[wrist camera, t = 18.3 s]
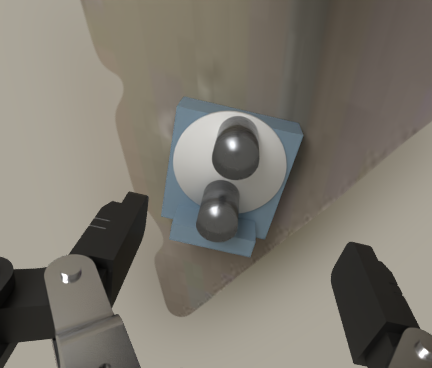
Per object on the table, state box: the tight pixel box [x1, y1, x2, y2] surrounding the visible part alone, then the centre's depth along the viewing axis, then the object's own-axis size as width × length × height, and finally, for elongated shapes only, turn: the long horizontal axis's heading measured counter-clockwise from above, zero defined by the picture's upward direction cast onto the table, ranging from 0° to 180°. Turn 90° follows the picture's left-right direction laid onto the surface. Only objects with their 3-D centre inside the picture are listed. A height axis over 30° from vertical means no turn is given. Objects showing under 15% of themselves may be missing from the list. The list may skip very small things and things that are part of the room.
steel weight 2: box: [196, 180, 240, 242], centre depth 36 cm, size 4×4×6 cm
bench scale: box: [161, 97, 303, 257], centre depth 38 cm, size 16×14×8 cm
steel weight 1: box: [212, 116, 260, 180], centre depth 32 cm, size 4×4×6 cm
